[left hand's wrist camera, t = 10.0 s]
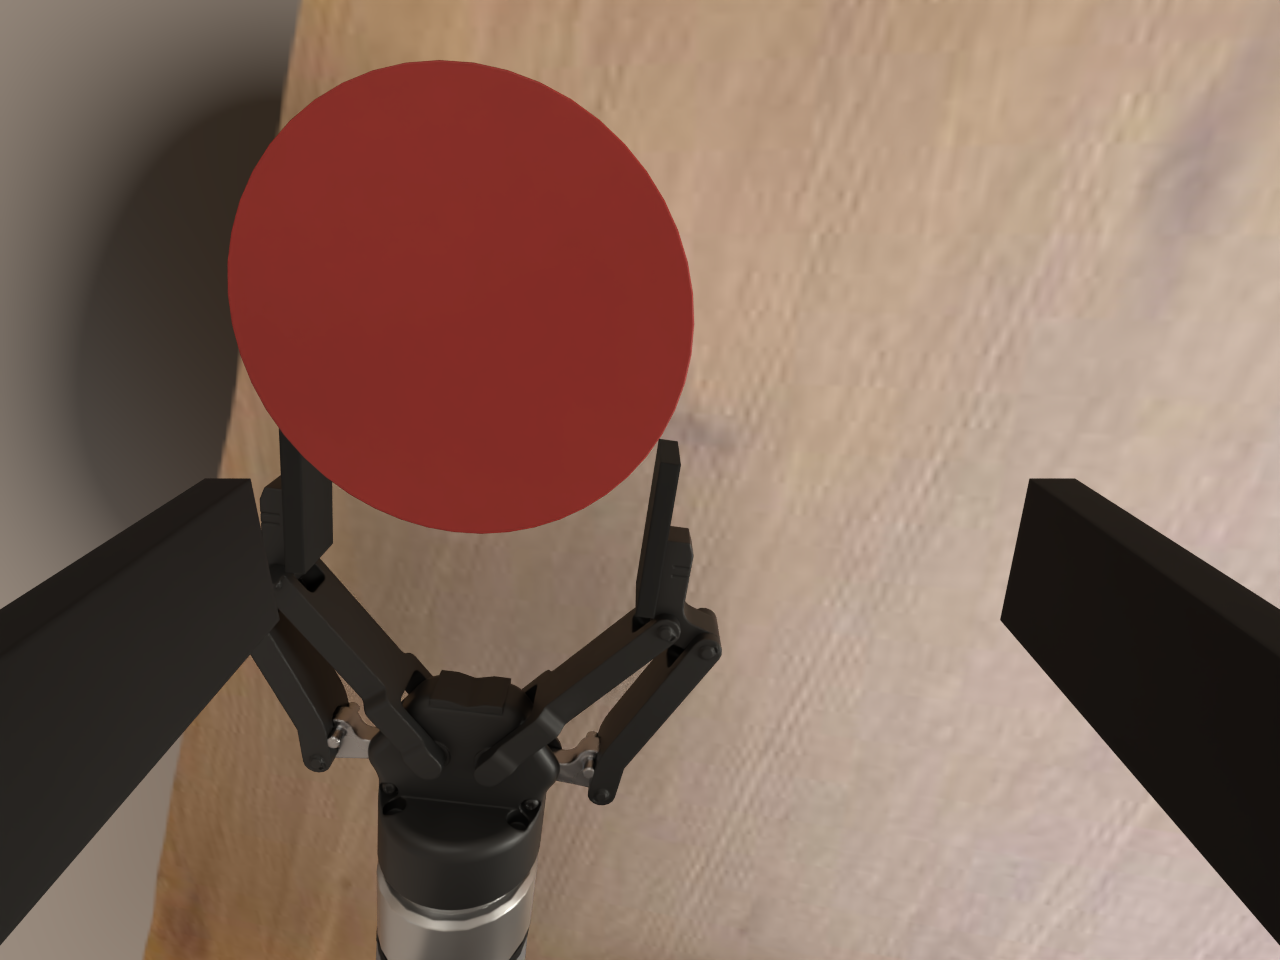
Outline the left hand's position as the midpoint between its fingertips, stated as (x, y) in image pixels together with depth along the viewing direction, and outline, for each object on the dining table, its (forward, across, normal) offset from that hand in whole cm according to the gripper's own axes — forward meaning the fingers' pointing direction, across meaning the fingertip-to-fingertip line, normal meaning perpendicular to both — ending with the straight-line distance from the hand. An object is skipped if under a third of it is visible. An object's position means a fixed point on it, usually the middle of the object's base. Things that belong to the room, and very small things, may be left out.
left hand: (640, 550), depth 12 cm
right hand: (+15, +6, +2) cm, 16 cm away
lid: (+6, +4, -3) cm, 8 cm away
